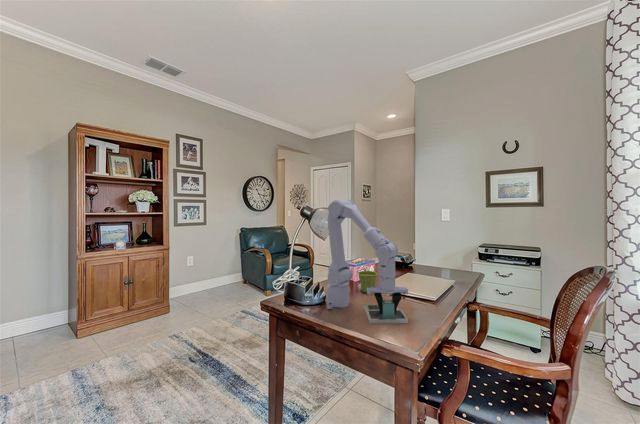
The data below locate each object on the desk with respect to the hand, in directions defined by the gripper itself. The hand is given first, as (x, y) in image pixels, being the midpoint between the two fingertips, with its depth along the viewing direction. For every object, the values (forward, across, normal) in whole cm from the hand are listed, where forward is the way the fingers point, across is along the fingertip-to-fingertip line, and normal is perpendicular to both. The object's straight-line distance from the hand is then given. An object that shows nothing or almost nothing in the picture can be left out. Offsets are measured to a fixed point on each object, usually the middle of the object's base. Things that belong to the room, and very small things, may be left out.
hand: (387, 313), depth 95 cm
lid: (+2, 0, +8) cm, 9 cm away
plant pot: (+3, -2, +32) cm, 32 cm away
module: (+2, 0, 0) cm, 2 cm away
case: (+2, 0, 0) cm, 2 cm away
